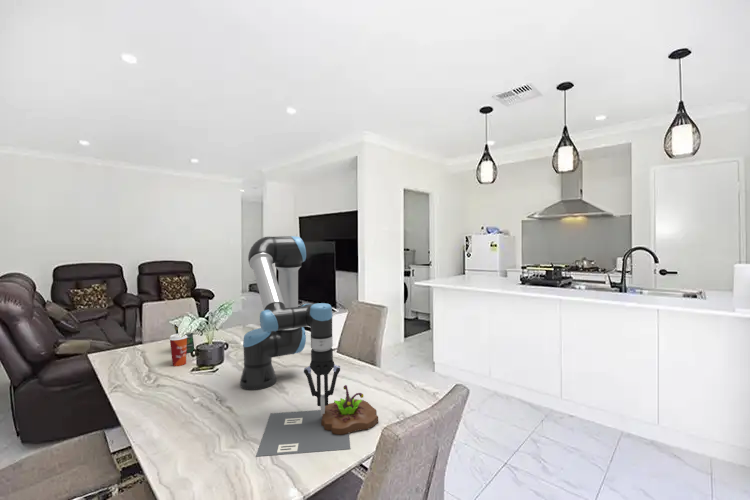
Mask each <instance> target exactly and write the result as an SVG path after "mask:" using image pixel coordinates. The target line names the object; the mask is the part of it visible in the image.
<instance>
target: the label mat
mask: <svg viewBox="0 0 750 500" xmlns="http://www.w3.org/2000/svg"><path fill="white" fill-rule="evenodd" d="M321 420H322V416H321V409H317V410H313V409H312V410H300V411H299V410H298V411H285V412H283V411H282V412H272V413H271V412H270V414H269V417H268V419H267V422H266V425H265V428H264V431H263V434H262V438H261V440H260V443H259V446H258V448H257V451H256V455H255V457H256V458H257V457H267V456H268V457H270V456H281V455H292V454H293V455H294V454H295V455H296V454H305V453H319V452H331V451H345V450H351V440H350V433H348V434H344V435H337V434H332V431H330V430H325V429H324V426H322V425H321Z"/></svg>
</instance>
